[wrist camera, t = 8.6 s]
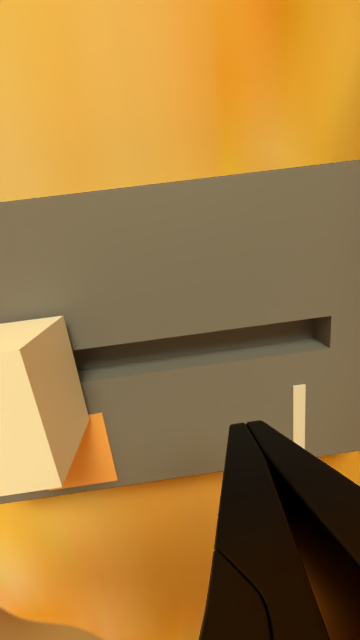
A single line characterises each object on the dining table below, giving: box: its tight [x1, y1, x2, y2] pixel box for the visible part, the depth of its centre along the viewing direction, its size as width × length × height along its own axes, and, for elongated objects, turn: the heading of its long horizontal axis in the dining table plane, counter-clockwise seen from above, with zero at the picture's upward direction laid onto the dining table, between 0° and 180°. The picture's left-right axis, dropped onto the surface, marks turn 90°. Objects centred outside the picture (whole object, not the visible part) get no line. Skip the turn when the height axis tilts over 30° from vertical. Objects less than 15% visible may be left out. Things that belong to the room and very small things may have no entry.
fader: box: [0, 316, 89, 496], centre depth 11 cm, size 3×5×5 cm, turn 7°
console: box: [0, 160, 360, 504], centre depth 14 cm, size 20×14×3 cm
